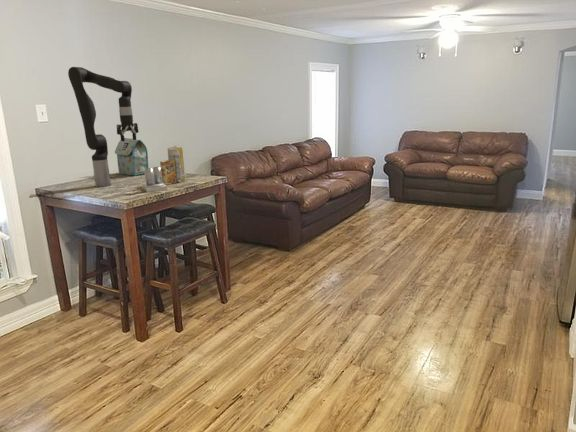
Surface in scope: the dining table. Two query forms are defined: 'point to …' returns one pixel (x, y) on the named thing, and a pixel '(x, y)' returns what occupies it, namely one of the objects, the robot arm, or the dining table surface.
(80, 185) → the dining table surface
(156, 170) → the spacer
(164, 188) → the grey l-shaped block
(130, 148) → the lunch bag
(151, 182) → the spacer
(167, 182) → the candy box
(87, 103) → the robot arm
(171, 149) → the juice carton
